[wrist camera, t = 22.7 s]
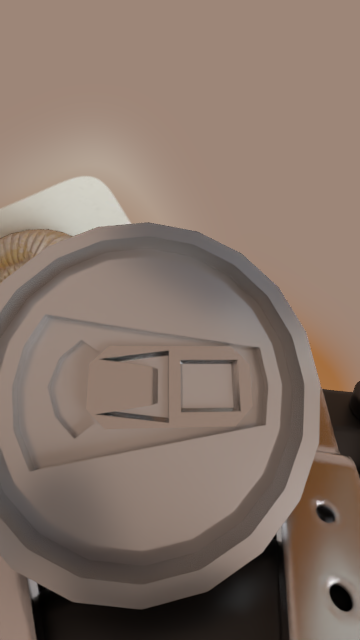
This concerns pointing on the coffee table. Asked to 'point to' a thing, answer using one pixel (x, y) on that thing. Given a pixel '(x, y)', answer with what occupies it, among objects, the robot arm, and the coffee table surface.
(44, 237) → the fossil
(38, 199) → the coffee table surface
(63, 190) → the coffee table surface
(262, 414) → the beer can
